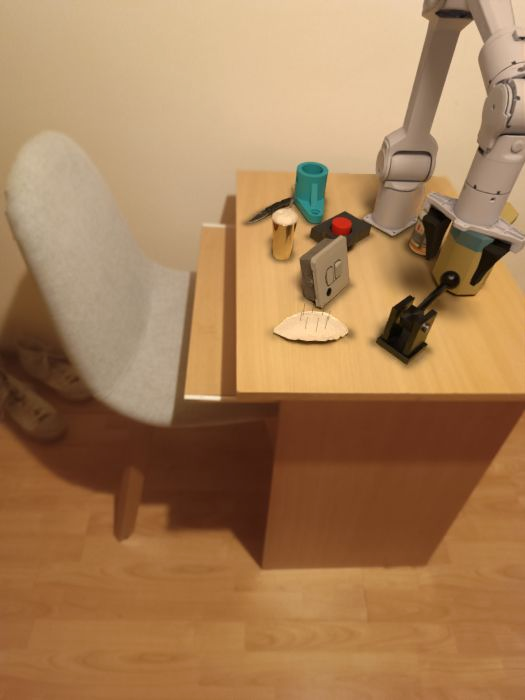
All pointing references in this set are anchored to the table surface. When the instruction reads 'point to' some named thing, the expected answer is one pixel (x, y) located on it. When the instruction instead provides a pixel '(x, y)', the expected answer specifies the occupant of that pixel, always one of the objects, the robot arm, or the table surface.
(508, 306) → the table surface
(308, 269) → the electrical switch
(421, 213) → the pill bottle
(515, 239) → the robot arm
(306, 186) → the bracket
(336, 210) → the table surface
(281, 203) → the folding knife
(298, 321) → the pincushion
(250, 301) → the table surface
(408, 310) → the lever
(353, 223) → the control block
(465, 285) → the jar
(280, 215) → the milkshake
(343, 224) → the button
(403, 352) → the bracket
